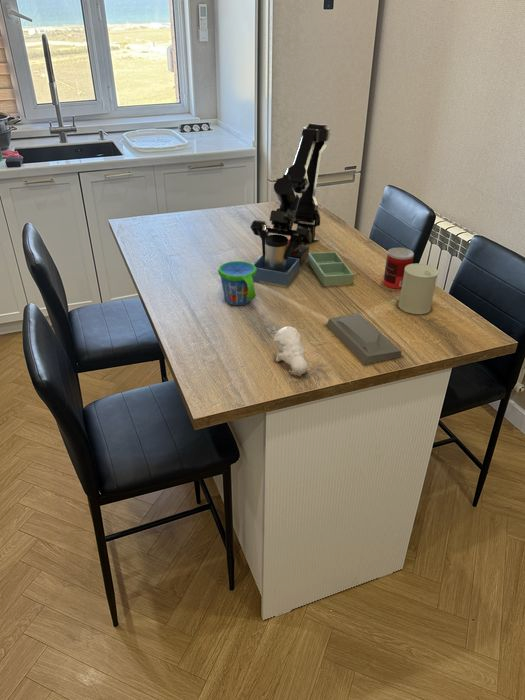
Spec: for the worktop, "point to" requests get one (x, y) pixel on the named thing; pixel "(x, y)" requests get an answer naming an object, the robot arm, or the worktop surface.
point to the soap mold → (363, 339)
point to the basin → (276, 272)
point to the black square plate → (300, 253)
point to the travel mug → (275, 252)
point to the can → (417, 288)
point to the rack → (330, 268)
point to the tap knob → (289, 242)
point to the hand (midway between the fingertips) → (274, 257)
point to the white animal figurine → (291, 349)
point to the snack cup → (238, 282)
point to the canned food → (396, 267)
